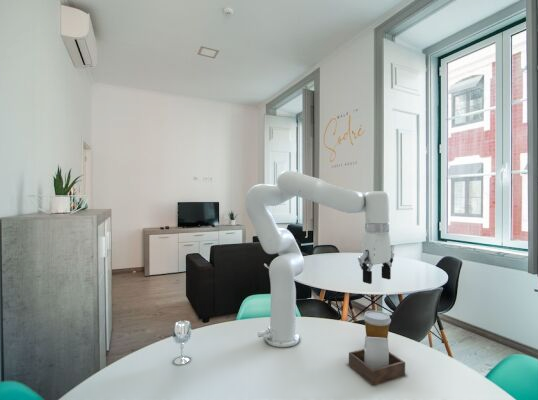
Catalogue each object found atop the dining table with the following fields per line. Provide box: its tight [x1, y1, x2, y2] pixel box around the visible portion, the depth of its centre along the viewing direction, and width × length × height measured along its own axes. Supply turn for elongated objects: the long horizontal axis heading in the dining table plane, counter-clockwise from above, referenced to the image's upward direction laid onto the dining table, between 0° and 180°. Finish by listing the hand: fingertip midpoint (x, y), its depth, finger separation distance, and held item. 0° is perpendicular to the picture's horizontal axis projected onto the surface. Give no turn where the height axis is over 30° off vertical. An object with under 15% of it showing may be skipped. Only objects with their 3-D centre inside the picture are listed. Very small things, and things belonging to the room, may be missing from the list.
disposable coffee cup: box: [362, 310, 392, 339], centre depth 106 cm, size 10×10×12 cm
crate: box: [348, 348, 406, 386], centre depth 92 cm, size 12×11×4 cm
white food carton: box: [363, 336, 390, 370], centre depth 92 cm, size 4×7×10 cm, turn 83°
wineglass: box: [172, 320, 193, 366], centre depth 95 cm, size 6×6×12 cm
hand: (376, 280), depth 97 cm, fingers open, 9 cm apart
